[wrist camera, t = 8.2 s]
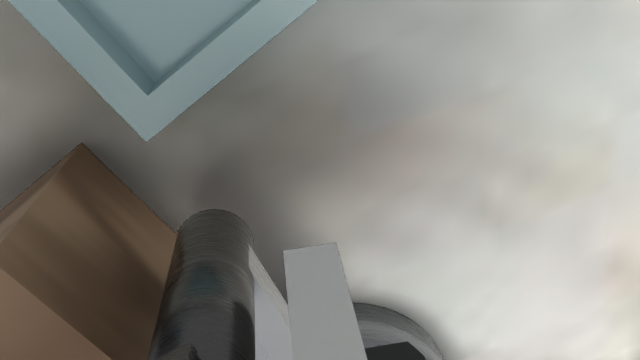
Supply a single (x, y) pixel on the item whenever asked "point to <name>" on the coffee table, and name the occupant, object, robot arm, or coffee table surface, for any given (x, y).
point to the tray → (157, 47)
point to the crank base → (392, 330)
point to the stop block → (80, 266)
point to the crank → (219, 297)
